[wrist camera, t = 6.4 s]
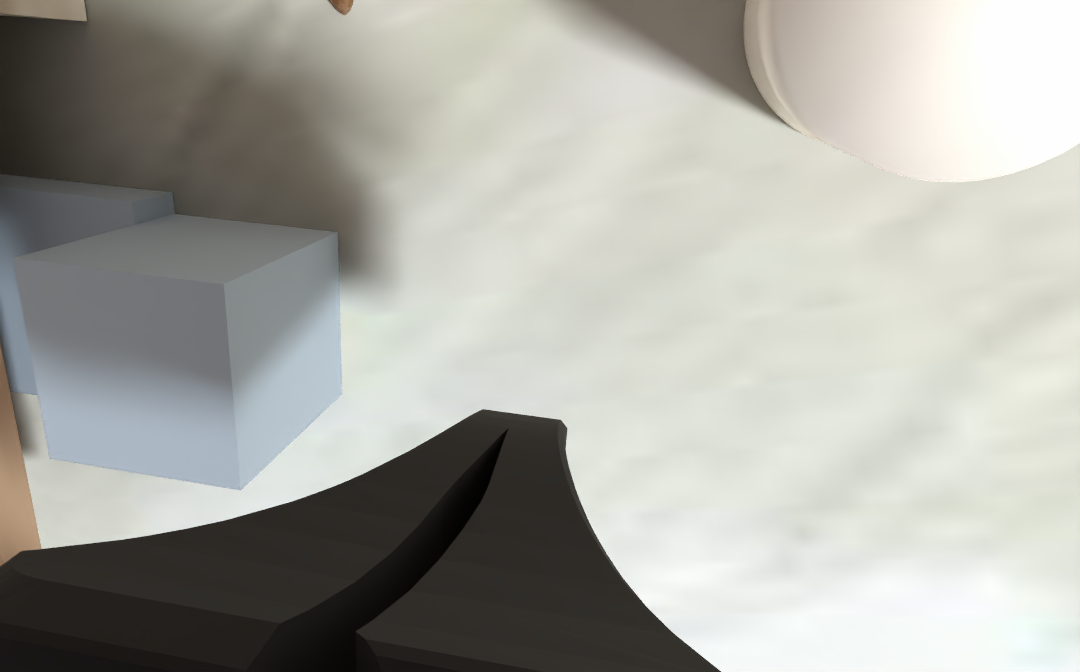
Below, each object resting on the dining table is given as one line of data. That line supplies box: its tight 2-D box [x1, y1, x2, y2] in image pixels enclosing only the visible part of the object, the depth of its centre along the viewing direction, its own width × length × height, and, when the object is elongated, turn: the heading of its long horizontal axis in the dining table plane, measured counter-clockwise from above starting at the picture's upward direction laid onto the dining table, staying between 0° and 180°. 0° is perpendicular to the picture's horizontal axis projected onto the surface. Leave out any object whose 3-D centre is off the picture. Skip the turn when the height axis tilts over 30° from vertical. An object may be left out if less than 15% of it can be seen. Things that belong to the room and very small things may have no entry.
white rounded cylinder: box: [743, 0, 1080, 182], centre depth 11 cm, size 5×5×5 cm
